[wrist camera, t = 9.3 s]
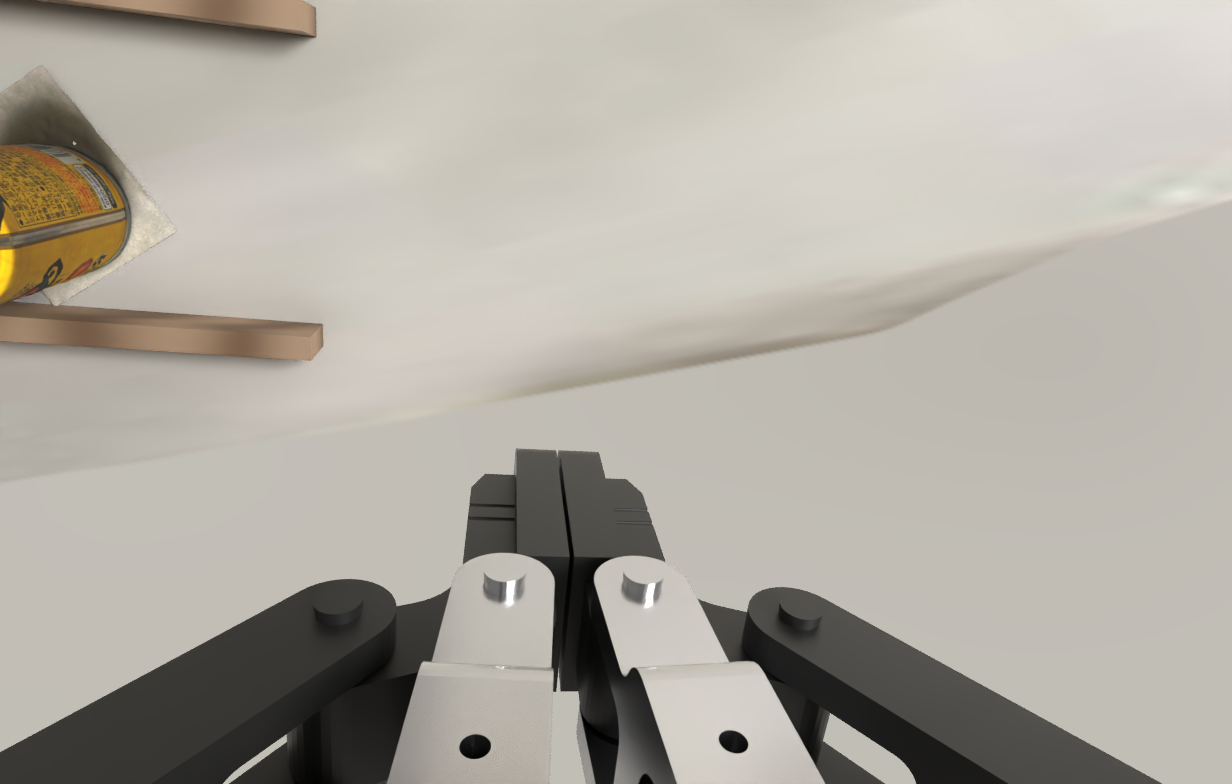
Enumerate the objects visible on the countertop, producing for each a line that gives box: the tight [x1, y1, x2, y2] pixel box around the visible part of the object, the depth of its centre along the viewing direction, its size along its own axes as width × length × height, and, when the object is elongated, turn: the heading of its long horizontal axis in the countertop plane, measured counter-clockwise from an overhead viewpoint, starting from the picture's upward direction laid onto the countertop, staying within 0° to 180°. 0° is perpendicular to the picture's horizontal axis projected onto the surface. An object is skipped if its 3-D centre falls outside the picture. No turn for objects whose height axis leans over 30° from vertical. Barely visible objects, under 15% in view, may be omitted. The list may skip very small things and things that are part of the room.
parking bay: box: [0, 0, 323, 361], centre depth 33 cm, size 20×16×4 cm
